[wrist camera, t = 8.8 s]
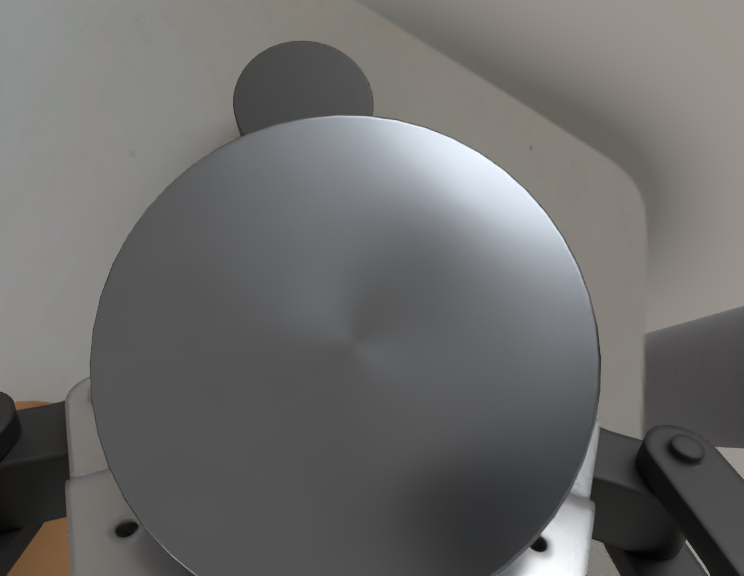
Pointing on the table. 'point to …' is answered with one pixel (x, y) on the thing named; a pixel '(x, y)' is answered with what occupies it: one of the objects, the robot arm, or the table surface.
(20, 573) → the cork coaster
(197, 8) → the table surface
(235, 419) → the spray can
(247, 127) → the black cap
